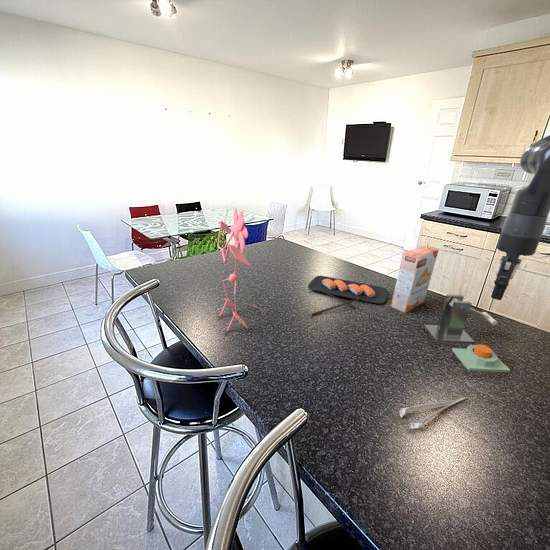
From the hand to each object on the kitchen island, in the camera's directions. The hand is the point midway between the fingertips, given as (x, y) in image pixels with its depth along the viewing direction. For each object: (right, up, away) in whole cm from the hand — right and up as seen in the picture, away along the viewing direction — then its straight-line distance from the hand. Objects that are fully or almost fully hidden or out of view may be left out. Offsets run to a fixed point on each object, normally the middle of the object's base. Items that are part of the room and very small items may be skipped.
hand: (498, 293), depth 76 cm
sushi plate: (-33, -5, +31) cm, 46 cm away
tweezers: (-23, -24, -13) cm, 36 cm away
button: (-5, -16, 0) cm, 16 cm away
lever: (-2, -7, +9) cm, 11 cm away
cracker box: (-11, -7, +29) cm, 31 cm away
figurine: (-68, -10, +18) cm, 71 cm away
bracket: (-6, -14, +12) cm, 19 cm away
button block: (-5, -18, +1) cm, 19 cm away
